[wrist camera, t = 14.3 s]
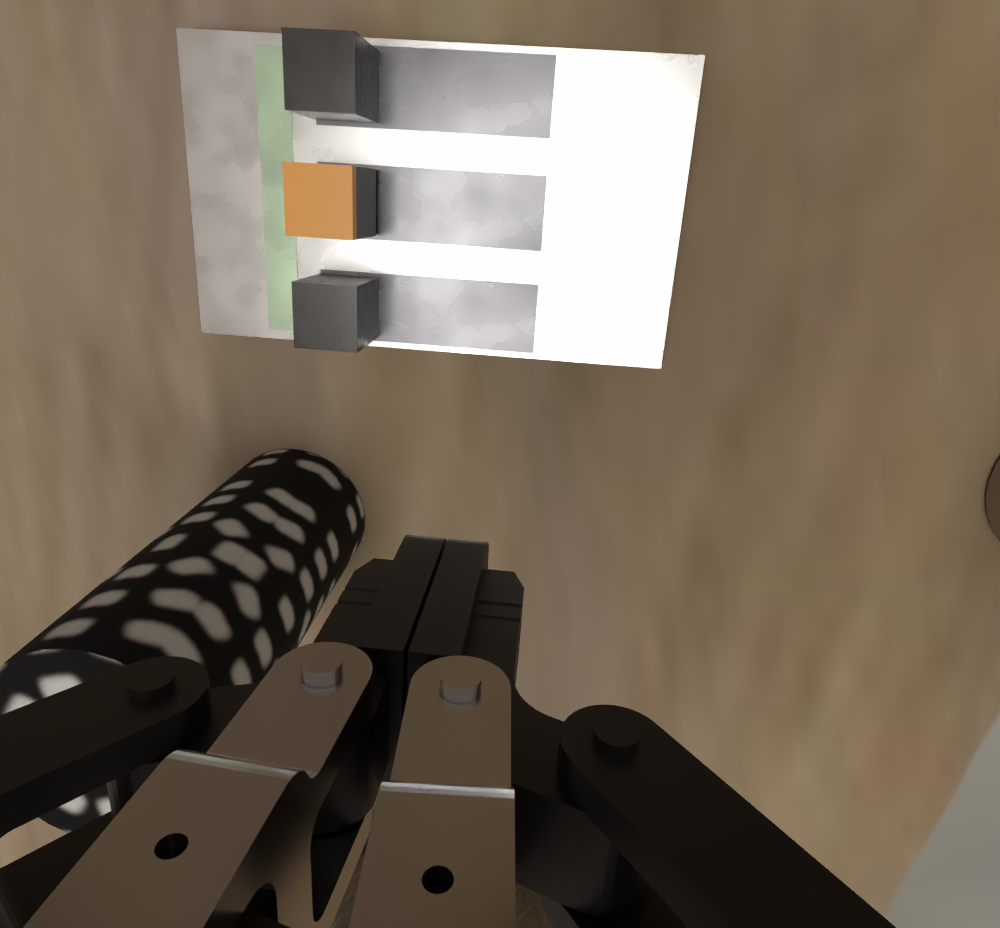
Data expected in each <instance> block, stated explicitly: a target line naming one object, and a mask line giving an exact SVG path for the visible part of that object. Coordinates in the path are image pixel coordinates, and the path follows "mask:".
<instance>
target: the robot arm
mask: <svg viewBox="0 0 1000 928" xmlns="http://www.w3.org/2000/svg"><path fill="white" fill-rule="evenodd" d="M986 513H987V516H988V520H989V523H990V526H991V528H992V530H993V531H994V533H995V534H996V536H997V537H998V539H999V540H1000V459H999V460H998V462H997V463H996V465H995V467H994V470H993V472H992V474H991V476H990V479H989V482H988V487H987V492H986ZM488 552H489V545H488V542H478V541H467V540H457V539H448V541H447V540H446V539H445V538H435V537H424V536H414V535H406V536H405V537H404V539H403V541H402V543H401V545H400V547H399V549H398V551H397V554H396V556H395V558H394V560H386V559H375V558H374V559H372V560H371V561H369V562H368V563H366V564H365V565H363V566H362V567H360V568H359V569H357V570H356V571H354V573H353V575H352V577H351V578H350V580H349V582H348V584H347V585H346V587H345V591H343V592H342V594H341V596H340V597H339V599H338V602H337V604H335V606H334V608H333V609H332V611H331V613H330V615H329V616H328V618H327V620H326V622H325V623H324V625H323V627H322V629H321V630H320V632H319V634H318V635H317V637H316V639H315V641H314V642H313V643H312V644H307V645H304V646H301V647H298V648H296V649H293V650H291V651H290V652H288V653H286V654H285V655H283V656H282V657H281V658H279V660H278V661H277V662H276V663H275V664H274V665H273V667H272V668H271V669H270V671H269V672H268V673H267V674H266V676H265V677H264V678H263V680H262V681H261V682H257V683H250V684H242V685H233V686H224V687H215V688H210V685H209V675H208V673H207V670H206V669H205V668H204V666H202V665H201V664H200V663H198V662H196V661H194V660H192V659H188V658H184V657H177V656H165V657H155V658H149V659H145V660H141V661H138V662H135V663H132V664H129V665H127V666H124V667H122V668H119V669H117V670H114V671H112V672H109V673H106V674H104V675H101V676H99V677H96V678H94V679H91V680H89V681H86V682H84V683H81V684H78V685H76V686H73V687H71V688H68V689H66V690H63V691H61V692H58V693H56V694H53V695H51V696H48V697H45V698H43V699H40V700H38V701H35V702H33V703H30V704H28V705H25V706H23V707H20V708H17V709H15V710H12V711H10V712H7V713H5V714H2V715H0V838H1V837H2V836H4V835H5V834H6V833H8V832H10V831H11V830H13V829H15V828H17V827H19V826H21V825H23V824H25V823H27V822H29V821H31V820H33V819H35V818H37V817H39V816H41V815H43V814H45V813H47V812H49V811H52V810H54V809H56V808H58V807H60V806H62V805H64V804H66V803H68V802H70V801H72V800H74V799H76V798H78V797H80V796H82V795H84V794H86V793H88V792H90V791H92V790H94V789H96V788H98V787H100V786H102V785H104V784H106V783H107V789H108V795H109V801H110V807H111V811H110V812H108V813H106V814H104V815H102V816H100V817H98V818H96V819H95V820H93V821H91V822H89V823H87V824H85V825H83V826H81V827H79V828H77V829H75V830H73V831H72V832H70V833H68V834H66V835H64V836H62V837H60V838H58V839H56V840H54V841H52V842H50V843H48V844H47V845H45V846H43V847H41V848H39V849H37V850H35V851H33V852H31V853H29V854H27V855H25V856H23V857H22V858H20V859H18V860H16V861H14V862H12V863H10V864H8V865H6V866H4V867H2V868H0V928H331V926H332V923H333V921H334V919H335V916H336V914H337V911H338V909H339V906H340V904H341V901H342V899H343V897H344V894H345V892H346V889H347V887H348V884H349V882H350V879H351V877H352V875H353V872H354V870H355V867H356V865H357V862H358V860H359V858H360V855H361V853H362V850H363V848H364V845H365V843H366V840H367V838H368V836H369V838H368V843H367V847H366V852H365V856H364V861H363V865H362V869H361V874H360V878H359V883H358V887H357V892H356V896H355V901H354V905H353V910H352V914H351V919H350V923H349V928H516V920H515V883H517V884H520V885H522V886H524V887H526V888H528V889H530V890H533V891H535V892H537V893H539V894H541V895H542V900H543V906H544V910H545V912H546V915H547V917H548V919H549V920H550V922H551V924H552V925H553V927H554V928H896V927H895V926H894V925H892V924H891V923H890V922H889V921H888V920H887V919H885V918H884V917H883V916H882V915H881V914H879V913H878V912H877V911H876V910H875V909H874V908H872V907H871V906H870V905H869V904H868V903H866V902H865V901H864V900H863V899H862V898H861V897H859V896H858V895H857V894H856V893H855V892H854V891H852V890H851V889H850V888H849V887H848V886H846V885H845V884H844V883H843V882H842V881H841V880H839V879H838V878H837V877H836V876H835V875H834V874H832V873H831V872H830V871H829V870H828V869H826V868H825V867H824V866H823V865H822V864H821V863H819V862H818V861H817V860H816V859H815V858H814V857H812V856H811V855H810V854H809V853H808V852H806V851H805V850H804V849H803V848H802V847H801V846H799V845H798V844H797V843H796V842H795V841H794V840H792V839H791V838H790V837H789V836H788V835H786V834H785V833H784V832H783V831H782V830H781V829H779V828H778V827H777V826H776V825H775V824H773V823H772V822H771V821H770V820H769V819H768V818H766V817H765V816H764V815H763V814H762V813H761V812H759V811H758V810H757V809H756V808H755V807H753V806H752V805H751V804H750V803H749V802H748V801H746V800H745V799H744V798H743V797H742V796H741V795H739V794H738V793H737V792H736V791H735V790H733V789H732V788H731V787H730V786H729V785H728V784H726V783H725V782H724V781H723V780H722V779H721V778H719V777H718V776H717V775H716V774H715V773H713V772H712V771H711V770H710V769H709V768H708V767H706V766H705V765H704V764H703V763H702V762H701V761H699V760H698V759H697V758H696V757H695V756H693V755H692V754H691V753H690V752H689V751H688V750H686V749H685V748H684V747H683V746H682V745H681V744H679V743H678V742H677V741H676V740H675V739H673V738H672V737H671V736H670V735H669V734H668V733H666V732H665V731H664V730H663V729H662V728H660V727H659V726H658V725H657V724H656V723H655V722H653V721H652V720H650V719H649V718H648V717H646V716H644V715H642V714H641V713H638V712H636V711H634V710H631V709H628V708H625V707H620V706H615V705H593V706H588V707H585V708H582V709H579V710H577V711H575V712H574V713H572V714H571V715H570V716H568V718H567V719H566V720H565V721H564V722H563V721H560V720H558V719H555V718H552V717H550V716H547V715H545V714H543V713H541V712H539V711H537V710H536V709H534V708H533V707H531V706H530V705H529V704H528V703H526V702H525V701H524V700H523V699H522V697H521V696H520V695H519V693H518V691H517V689H516V687H515V683H516V674H517V665H518V654H519V642H520V630H521V618H522V606H523V594H524V587H523V585H522V584H521V582H520V581H519V579H518V578H517V576H516V574H515V573H514V572H510V571H499V570H489V569H488ZM381 782H382V784H381ZM380 785H381V786H380ZM379 788H380V790H379ZM378 791H379V793H378ZM377 794H378V798H377V802H376V807H375V811H374V816H373V805H374V802H375V800H376V797H377ZM369 833H370V834H369Z"/></svg>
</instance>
